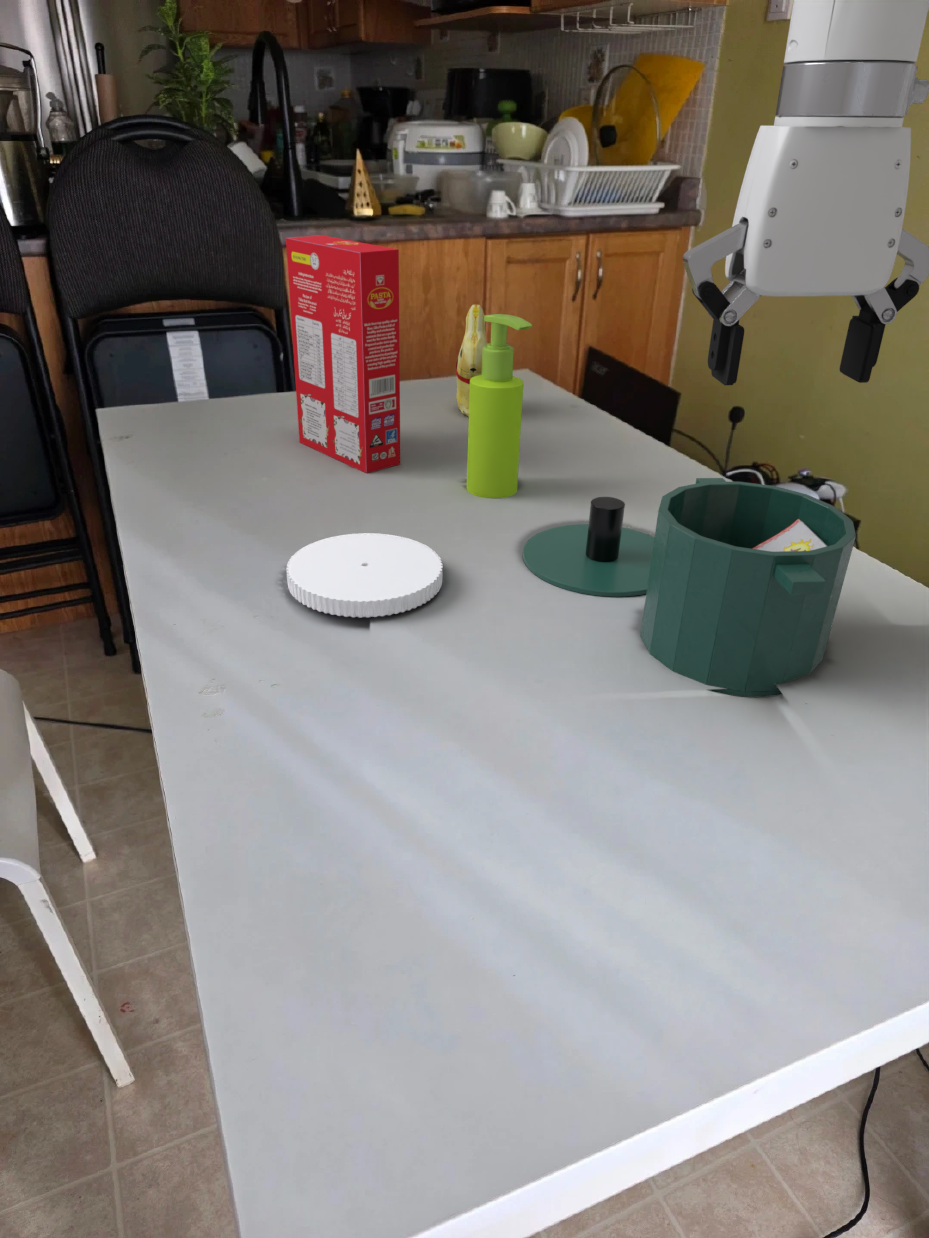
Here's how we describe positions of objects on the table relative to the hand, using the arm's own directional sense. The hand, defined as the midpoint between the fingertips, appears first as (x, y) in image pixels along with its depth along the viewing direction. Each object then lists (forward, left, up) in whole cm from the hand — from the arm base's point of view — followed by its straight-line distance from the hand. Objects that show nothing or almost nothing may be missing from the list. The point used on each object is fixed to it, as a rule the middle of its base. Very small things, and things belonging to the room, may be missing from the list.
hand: (788, 379), depth 63 cm
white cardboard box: (0, 0, -21) cm, 21 cm away
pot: (0, 0, -22) cm, 22 cm away
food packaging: (+32, -50, -23) cm, 64 cm away
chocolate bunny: (+13, -69, -23) cm, 74 cm away
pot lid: (+7, -16, -22) cm, 28 cm away
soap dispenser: (+15, -35, -23) cm, 44 cm away
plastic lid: (+30, -12, -23) cm, 40 cm away
